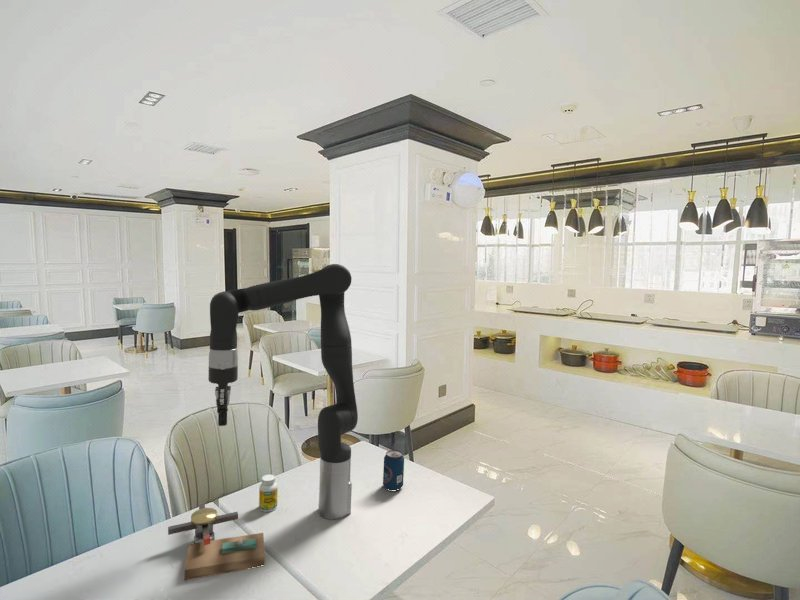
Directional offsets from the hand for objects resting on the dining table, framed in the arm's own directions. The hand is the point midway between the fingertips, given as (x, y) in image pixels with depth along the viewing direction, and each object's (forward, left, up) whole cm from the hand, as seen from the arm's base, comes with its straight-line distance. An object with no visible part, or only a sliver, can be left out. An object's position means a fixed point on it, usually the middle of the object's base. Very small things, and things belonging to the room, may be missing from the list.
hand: (222, 424), depth 123 cm
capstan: (+4, +7, -29) cm, 30 cm away
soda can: (-54, -7, -29) cm, 62 cm away
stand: (-2, +16, -29) cm, 33 cm away
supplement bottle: (-13, -5, -29) cm, 32 cm away
